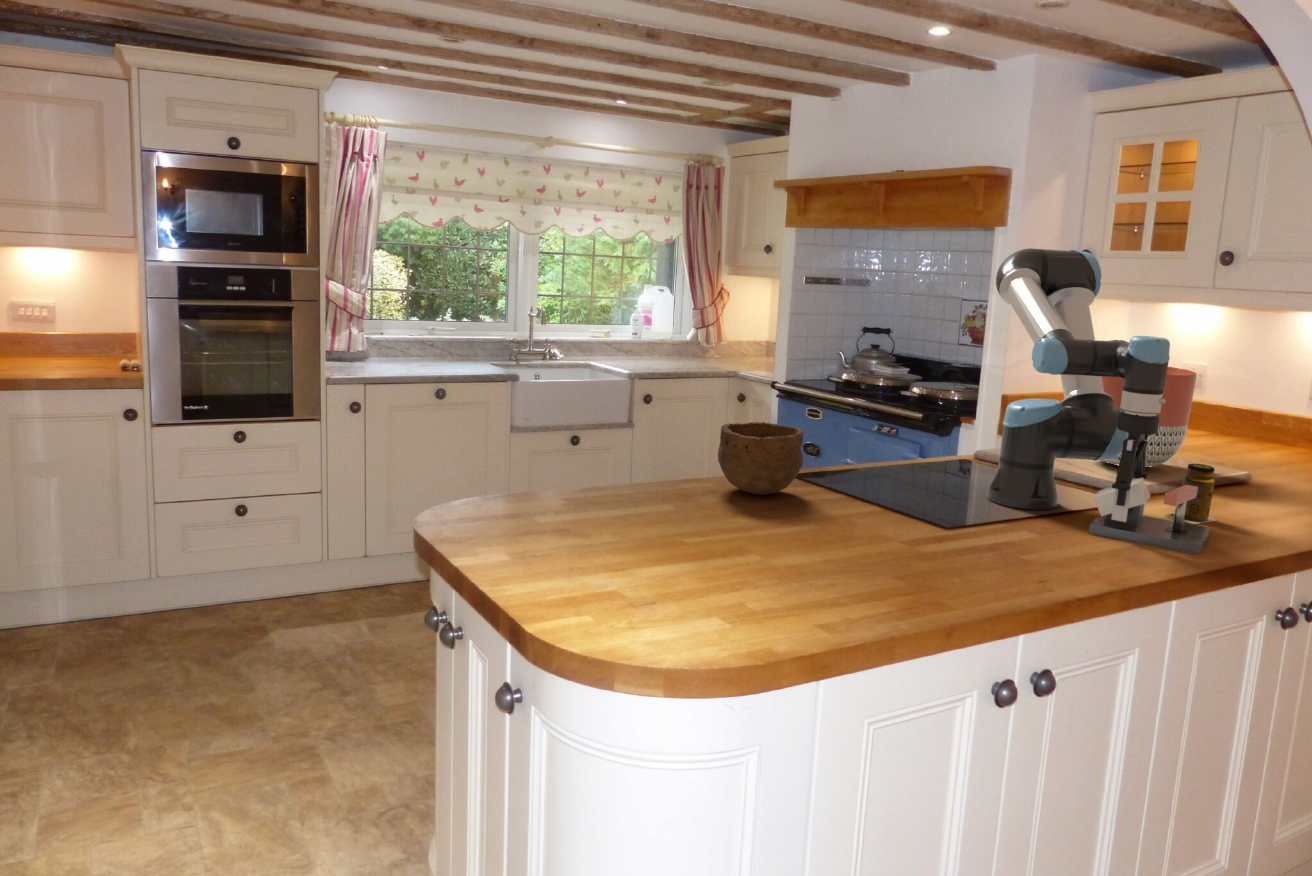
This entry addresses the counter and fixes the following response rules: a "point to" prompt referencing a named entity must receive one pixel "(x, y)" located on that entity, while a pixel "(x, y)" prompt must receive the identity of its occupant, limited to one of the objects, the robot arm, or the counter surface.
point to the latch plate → (1151, 531)
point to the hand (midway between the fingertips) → (1124, 514)
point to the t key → (1180, 503)
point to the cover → (1107, 496)
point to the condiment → (1198, 493)
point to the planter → (1162, 414)
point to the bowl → (760, 456)
